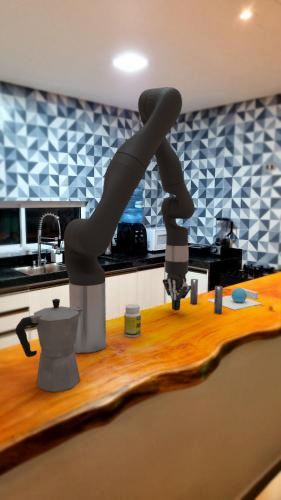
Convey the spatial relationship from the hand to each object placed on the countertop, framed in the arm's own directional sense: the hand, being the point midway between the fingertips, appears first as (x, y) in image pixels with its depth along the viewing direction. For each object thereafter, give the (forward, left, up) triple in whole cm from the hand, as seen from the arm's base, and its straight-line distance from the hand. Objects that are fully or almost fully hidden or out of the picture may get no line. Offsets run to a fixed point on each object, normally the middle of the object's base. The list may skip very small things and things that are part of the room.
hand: (175, 309), depth 122 cm
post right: (+13, -6, -2) cm, 15 cm away
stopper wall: (+38, +3, -2) cm, 38 cm away
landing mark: (+27, 0, -2) cm, 27 cm away
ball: (+28, -1, +1) cm, 28 cm away
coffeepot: (-50, -23, -2) cm, 55 cm away
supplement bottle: (-22, -8, -2) cm, 23 cm away
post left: (+13, +6, -2) cm, 15 cm away
